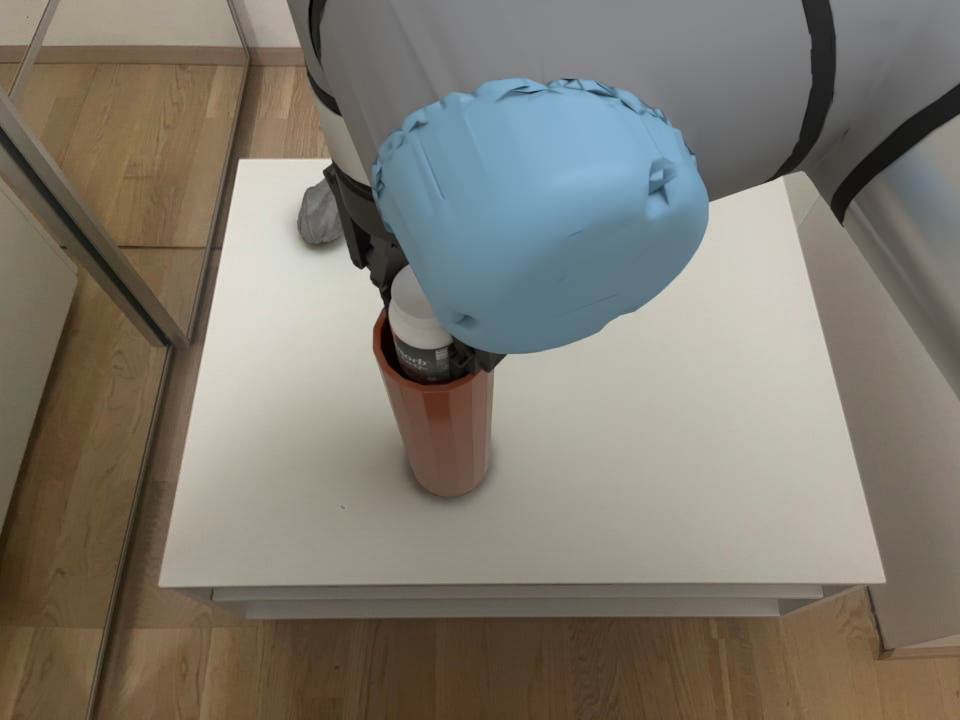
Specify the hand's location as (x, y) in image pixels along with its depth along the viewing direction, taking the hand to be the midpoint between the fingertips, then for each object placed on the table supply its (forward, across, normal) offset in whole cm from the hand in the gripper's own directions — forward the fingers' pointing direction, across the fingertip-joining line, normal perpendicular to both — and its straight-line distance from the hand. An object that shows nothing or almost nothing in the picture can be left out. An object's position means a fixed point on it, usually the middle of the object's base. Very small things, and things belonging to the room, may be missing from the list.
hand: (436, 351), depth 52 cm
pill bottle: (0, 0, 0) cm, 0 cm away
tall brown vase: (+29, 0, 0) cm, 29 cm away
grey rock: (+29, +36, -14) cm, 48 cm away
